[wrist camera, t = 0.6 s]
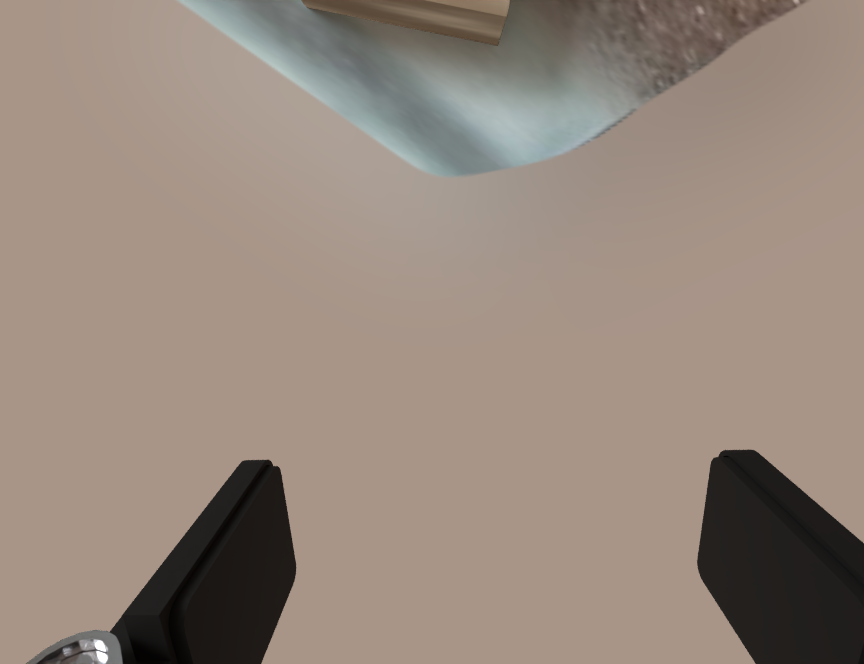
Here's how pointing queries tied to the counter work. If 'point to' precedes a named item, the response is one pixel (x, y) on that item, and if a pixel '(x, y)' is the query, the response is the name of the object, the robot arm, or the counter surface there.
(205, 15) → the counter surface
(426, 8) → the birch block
